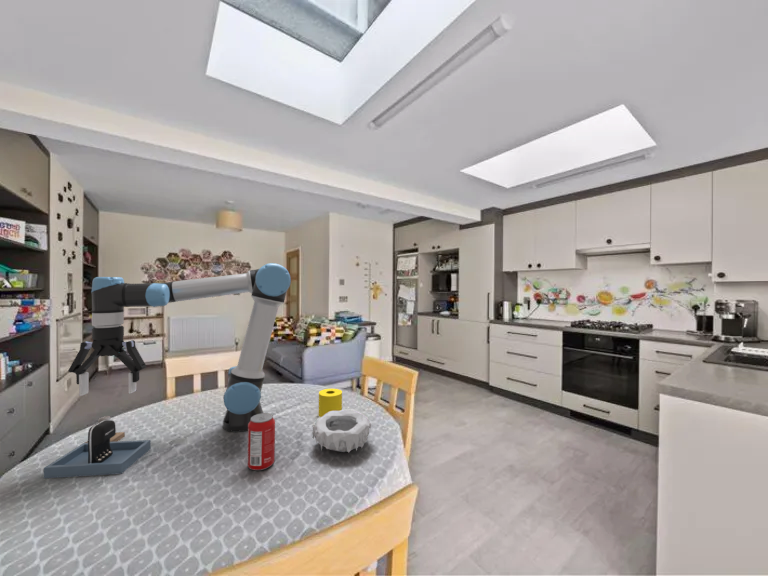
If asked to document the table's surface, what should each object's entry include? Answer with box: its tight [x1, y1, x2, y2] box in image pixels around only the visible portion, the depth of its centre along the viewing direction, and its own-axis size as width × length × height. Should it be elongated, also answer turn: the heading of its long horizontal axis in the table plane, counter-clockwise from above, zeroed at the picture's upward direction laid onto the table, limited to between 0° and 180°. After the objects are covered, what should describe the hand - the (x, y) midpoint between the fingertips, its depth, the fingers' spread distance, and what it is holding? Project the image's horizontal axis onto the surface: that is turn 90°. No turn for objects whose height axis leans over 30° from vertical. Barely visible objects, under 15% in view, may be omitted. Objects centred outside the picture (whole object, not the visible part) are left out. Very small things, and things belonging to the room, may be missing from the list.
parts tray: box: [43, 439, 152, 479], centre depth 97 cm, size 20×14×3 cm
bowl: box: [311, 408, 372, 454], centre depth 109 cm, size 21×20×10 cm
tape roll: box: [318, 388, 343, 417], centre depth 136 cm, size 10×10×9 cm
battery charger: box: [87, 419, 117, 463], centre depth 97 cm, size 7×4×11 cm, turn 8°
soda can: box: [247, 412, 276, 471], centre depth 97 cm, size 8×8×15 cm
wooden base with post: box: [84, 415, 126, 443], centre depth 109 cm, size 8×8×9 cm
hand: (108, 393), depth 99 cm, fingers open, 13 cm apart
